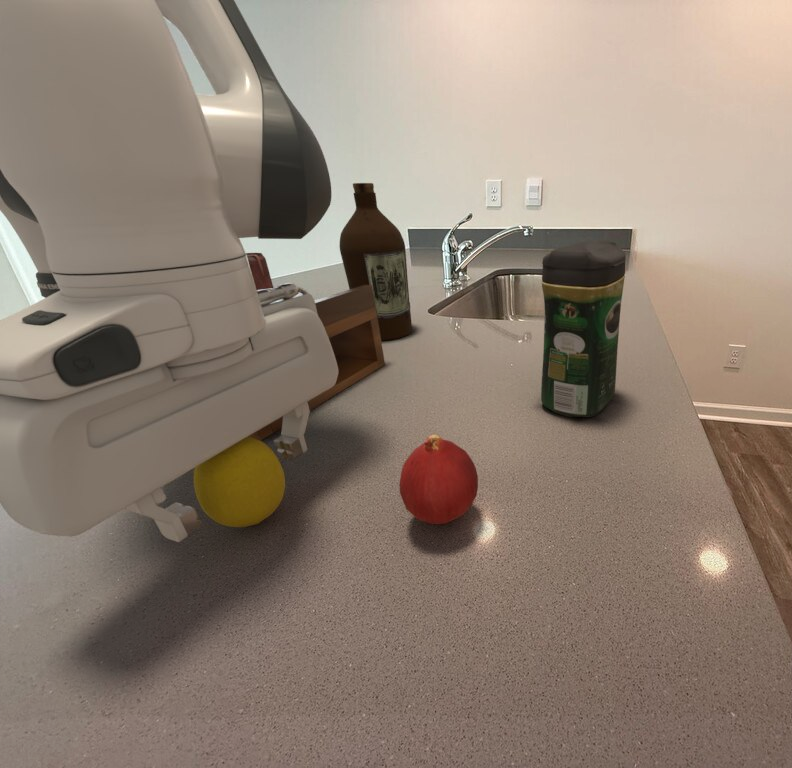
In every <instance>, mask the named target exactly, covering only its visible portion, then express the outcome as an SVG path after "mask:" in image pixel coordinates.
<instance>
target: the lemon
mask: <svg viewBox="0 0 792 768" xmlns="http://www.w3.org/2000/svg"><path fill="white" fill-rule="evenodd" d="M193 488H194V492H195V496H196V499H197V501H198V504H199V506H200V507H201V509H202V511H203V512H204V513H205V514H206V515H207V517H208V518H210V519H212V520H213V521H214V522H215V523H218V524H219V525H222V526H226V527H228V528H229V527H230V528H244V527H250V526H257V525H258V524H260V523H262V521H264V520H266V519H267V518H269V517H270V516H271V515H272V514H273V513H274V512H275V511H276V510H277V508H279V506H280V504H281V502H282V500H283V498H284V496H285V491H286V489H285V488H286V478H285V472H284V470H283V467H282V464H281V462H280V460H279V458H278V456H277V455H276V453H275V452H274V451H273V450H272V449H271V447H269V446H268V445H267V444H266V443H265V442H263V441H262V440H261V441H260V440H257V439H254V438H250V437H246V438H244V439H243V440H241V441H239V442H238V443H236V444H234V445H232V446H231V447H229V448H227V449H226V450H224V451H222V452H220V453H219V454H217V455H215V456H214V457H212V458H210V459H208V460H207V461H205V462H203V463H202V464H200V465H198V466H197V467H195V468H194V470H193Z"/></svg>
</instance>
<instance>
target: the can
mask: <svg viewBox="0 0 792 768" xmlns="http://www.w3.org/2000/svg"><path fill="white" fill-rule="evenodd" d="M246 255H247V258H248V262H249V266H250V269H251V272H252V276H253V279H254V283H255V286H256V290H262V289H270V288H274V285H273V281H272V278H271V273H270V270H269V266H268V263H267V258H266V257H265V256H264V255H263V253H262V252H246Z"/></svg>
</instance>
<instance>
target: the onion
mask: <svg viewBox="0 0 792 768" xmlns="http://www.w3.org/2000/svg"><path fill="white" fill-rule="evenodd" d="M478 488H479V475H478V471H477V467H476V465H475V464H474V461H473V459H472V458H471V457H470V455H469V454H468V453H467V451H466V450H465V449H463V448H462V447H461V446H459V445H457V444H456V443H454V442H453V441H451V440H448V439H443V438H442V437H441V436H439V435H437V434H431V435H430V436H428V437H427V438H426V440H424V442H423V443H422V444H421V445H419V446H418V447H416V448H414V450H413V451H412V452H411V453H410V454H409V456H408V457H407V459H406V460H405V461H404V463H403V465H402V468H401V472H400V479H399V494H400V497H401V500H402V503H403V505H404V507H405V509H406V510H407V511H408V512H409V513H410V514H411V515H412V516H413V517H414V518H416V519H417V520H419V521H420V522H425V523H428V524H432V525H446V524H448V523H450V522H451V521H453V520H455V519H458V518H459V517H461V516H462V515H464V514H466V513H467V512H468V510H469V509H470V508H471V506H472V504H473V503H474V501H475V500H476V497H477V495H478V494H477V493H478Z"/></svg>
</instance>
